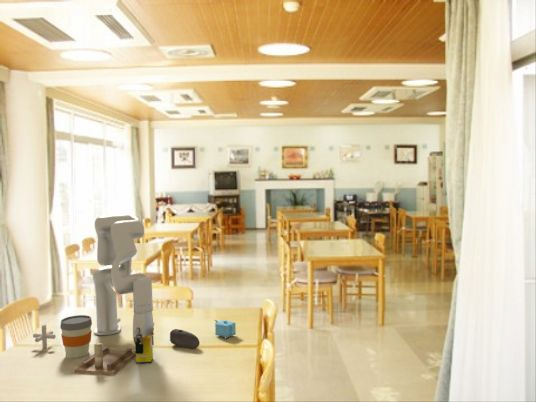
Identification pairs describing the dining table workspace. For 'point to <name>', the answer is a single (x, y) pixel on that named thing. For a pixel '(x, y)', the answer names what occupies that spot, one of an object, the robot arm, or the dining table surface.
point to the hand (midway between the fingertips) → (144, 349)
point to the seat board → (106, 360)
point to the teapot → (225, 328)
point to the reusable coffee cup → (76, 335)
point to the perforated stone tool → (184, 339)
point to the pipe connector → (44, 336)
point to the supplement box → (146, 351)
